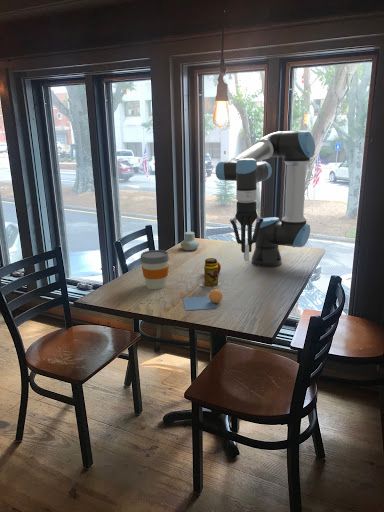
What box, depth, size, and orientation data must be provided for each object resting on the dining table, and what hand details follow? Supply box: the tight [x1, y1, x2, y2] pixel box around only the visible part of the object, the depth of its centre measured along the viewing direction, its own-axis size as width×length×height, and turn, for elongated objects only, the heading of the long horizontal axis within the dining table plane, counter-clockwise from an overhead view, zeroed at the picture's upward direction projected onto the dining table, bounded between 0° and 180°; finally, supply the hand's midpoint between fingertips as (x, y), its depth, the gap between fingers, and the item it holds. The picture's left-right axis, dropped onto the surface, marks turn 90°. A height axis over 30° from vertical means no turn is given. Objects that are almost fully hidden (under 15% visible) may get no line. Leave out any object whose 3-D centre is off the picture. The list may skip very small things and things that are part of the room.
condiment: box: [197, 257, 222, 289], centre depth 179 cm, size 7×8×12 cm
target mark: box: [182, 295, 217, 312], centre depth 161 cm, size 12×12×1 cm
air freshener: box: [180, 231, 200, 251], centre depth 235 cm, size 11×8×10 cm
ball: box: [208, 288, 224, 304], centre depth 160 cm, size 6×6×6 cm
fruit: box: [217, 260, 222, 275], centre depth 192 cm, size 8×8×8 cm
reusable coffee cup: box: [140, 249, 170, 290], centre depth 179 cm, size 13×13×15 cm
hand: (246, 259), depth 159 cm, fingers closed
